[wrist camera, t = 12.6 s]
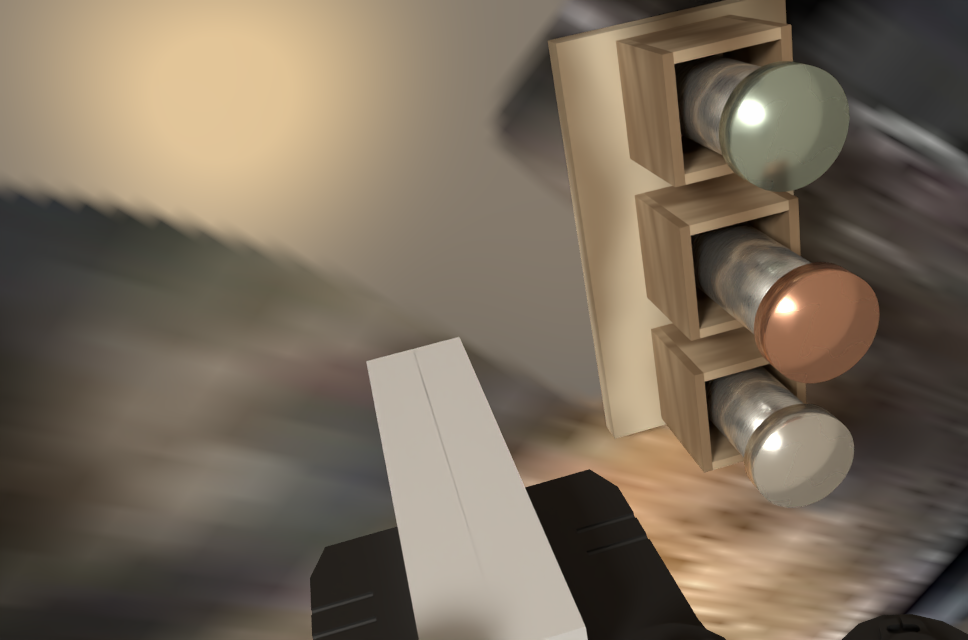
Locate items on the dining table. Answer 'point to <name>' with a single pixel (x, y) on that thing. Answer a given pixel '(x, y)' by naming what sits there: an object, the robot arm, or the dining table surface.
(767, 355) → the terracotta plunger
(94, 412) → the dining table surface
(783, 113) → the sage plunger
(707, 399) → the cream plunger
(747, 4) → the beige boxy slotted piece
